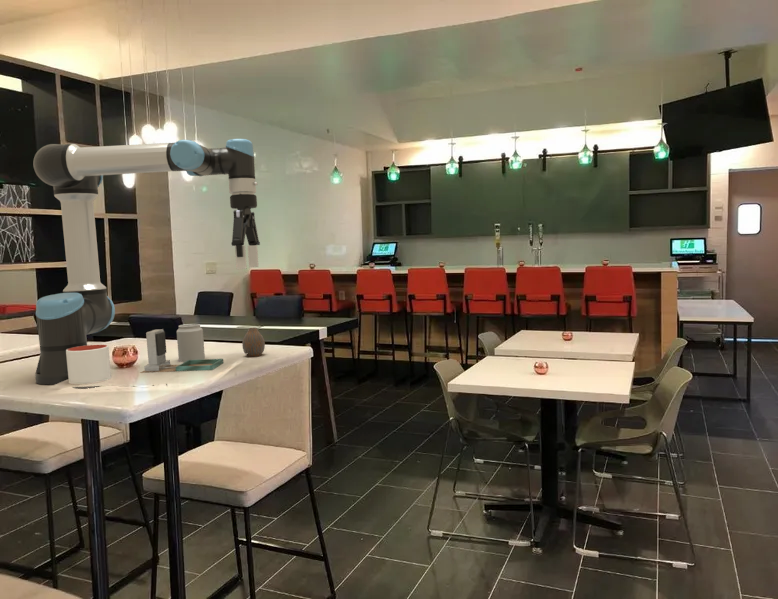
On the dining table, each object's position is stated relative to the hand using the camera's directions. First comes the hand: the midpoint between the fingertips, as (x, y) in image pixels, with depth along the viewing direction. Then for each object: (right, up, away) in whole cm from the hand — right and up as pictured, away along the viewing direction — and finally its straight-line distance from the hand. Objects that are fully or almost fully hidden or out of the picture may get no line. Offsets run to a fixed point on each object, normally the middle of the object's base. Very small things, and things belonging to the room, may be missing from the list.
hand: (247, 268), depth 183 cm
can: (-18, -29, +5) cm, 34 cm away
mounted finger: (-23, -28, -8) cm, 38 cm away
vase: (-1, -27, +15) cm, 31 cm away
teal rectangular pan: (-16, -30, -8) cm, 35 cm away
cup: (-37, -32, -19) cm, 52 cm away
